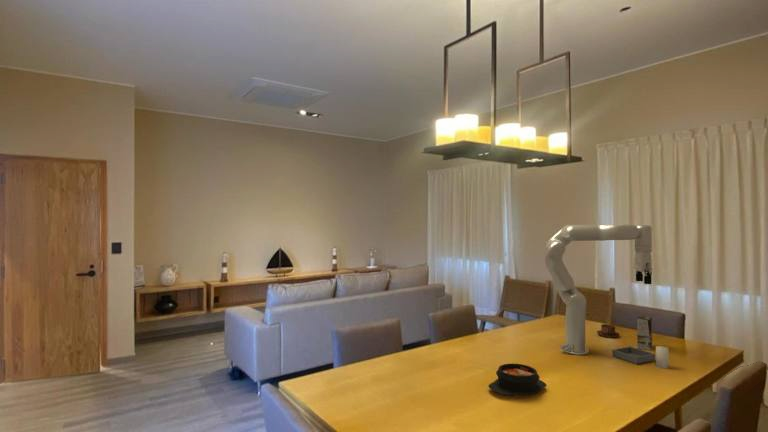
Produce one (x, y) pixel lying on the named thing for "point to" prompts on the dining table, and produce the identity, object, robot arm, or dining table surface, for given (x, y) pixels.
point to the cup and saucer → (608, 331)
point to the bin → (633, 355)
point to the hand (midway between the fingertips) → (643, 282)
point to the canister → (662, 357)
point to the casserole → (517, 380)
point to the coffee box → (644, 333)
